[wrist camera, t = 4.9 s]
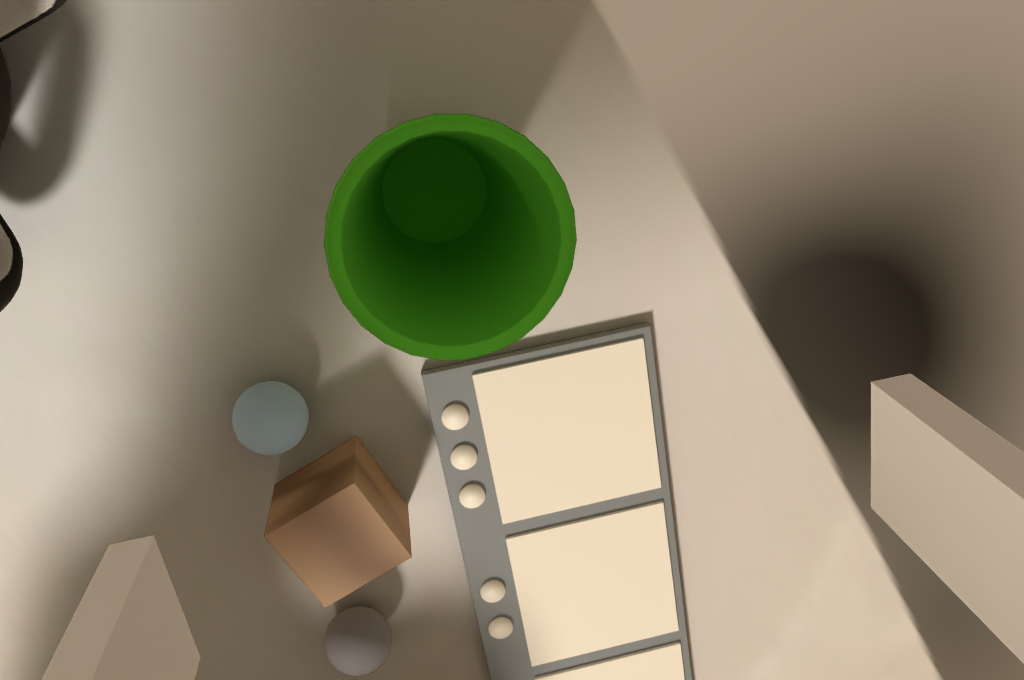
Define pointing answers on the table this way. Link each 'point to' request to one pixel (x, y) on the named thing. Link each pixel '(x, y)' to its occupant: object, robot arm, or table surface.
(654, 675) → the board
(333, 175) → the table surface
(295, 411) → the dusty blue ball
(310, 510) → the walnut block
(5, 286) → the mug
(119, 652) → the robot arm
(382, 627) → the charcoal ball
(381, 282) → the cup
